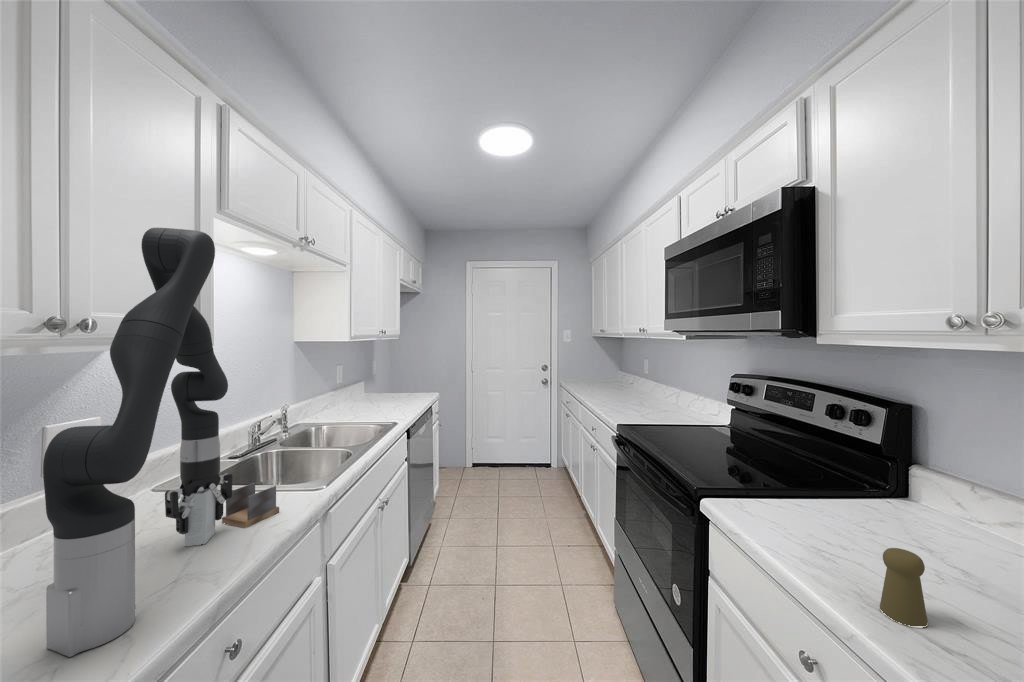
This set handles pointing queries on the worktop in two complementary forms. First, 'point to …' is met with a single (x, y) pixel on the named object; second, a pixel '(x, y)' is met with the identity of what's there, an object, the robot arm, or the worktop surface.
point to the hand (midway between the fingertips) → (200, 525)
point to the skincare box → (201, 518)
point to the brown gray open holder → (250, 506)
